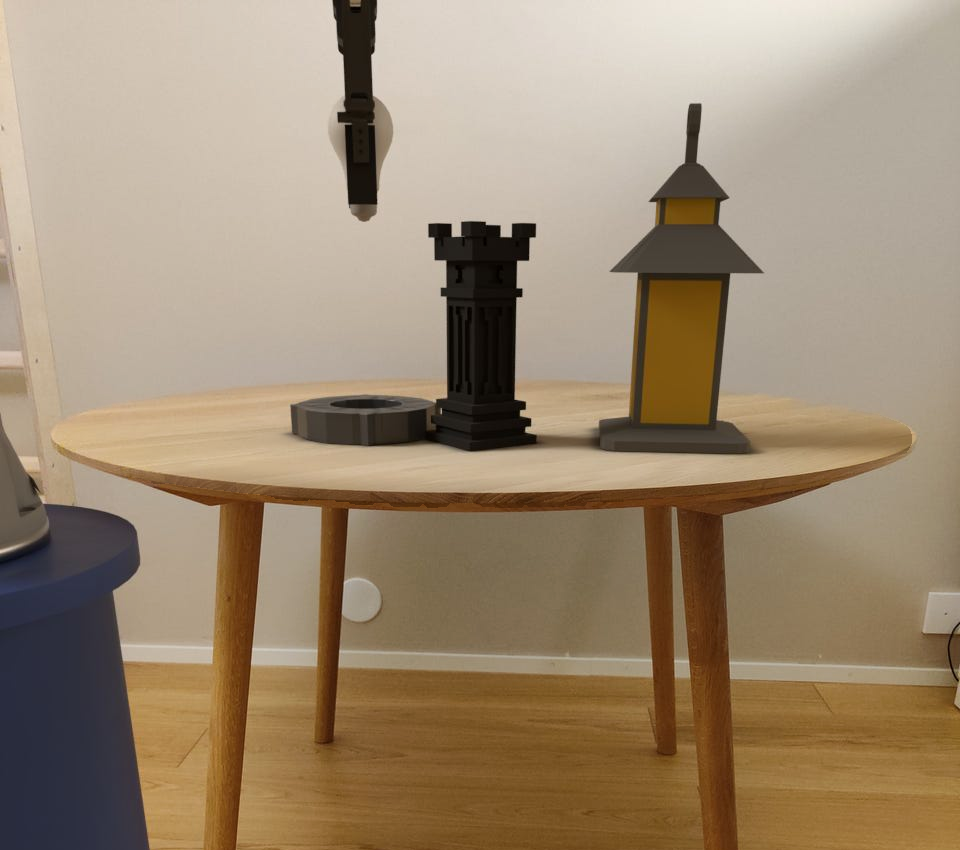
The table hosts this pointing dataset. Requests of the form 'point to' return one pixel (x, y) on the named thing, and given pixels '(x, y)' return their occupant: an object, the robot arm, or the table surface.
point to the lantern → (680, 318)
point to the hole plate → (363, 419)
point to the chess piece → (481, 335)
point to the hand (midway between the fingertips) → (362, 205)
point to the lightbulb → (381, 141)
